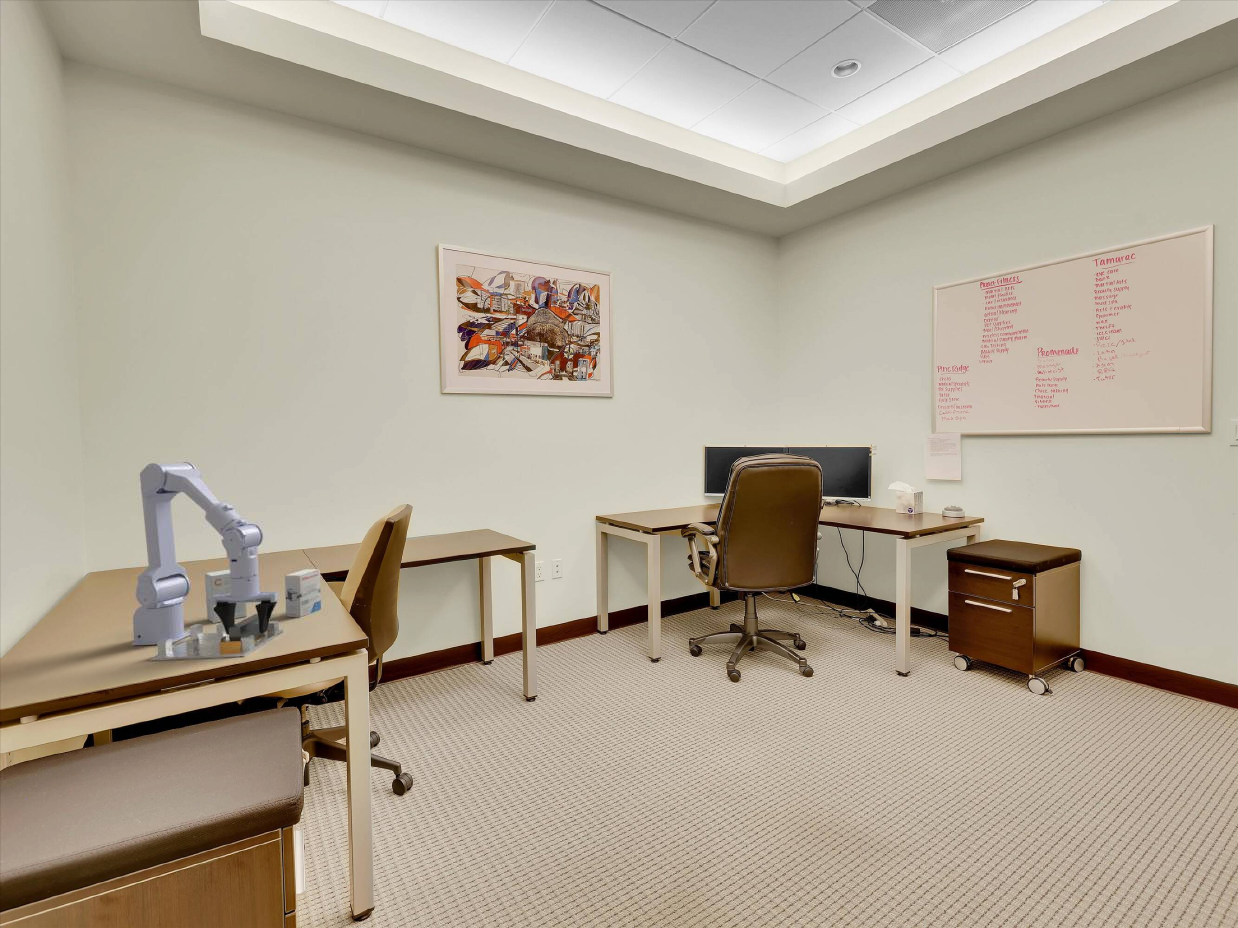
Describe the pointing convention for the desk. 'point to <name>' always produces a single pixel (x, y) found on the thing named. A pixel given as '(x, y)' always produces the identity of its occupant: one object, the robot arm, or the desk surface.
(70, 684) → the desk surface
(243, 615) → the small box
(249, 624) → the panel
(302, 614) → the ink box
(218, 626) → the rack
